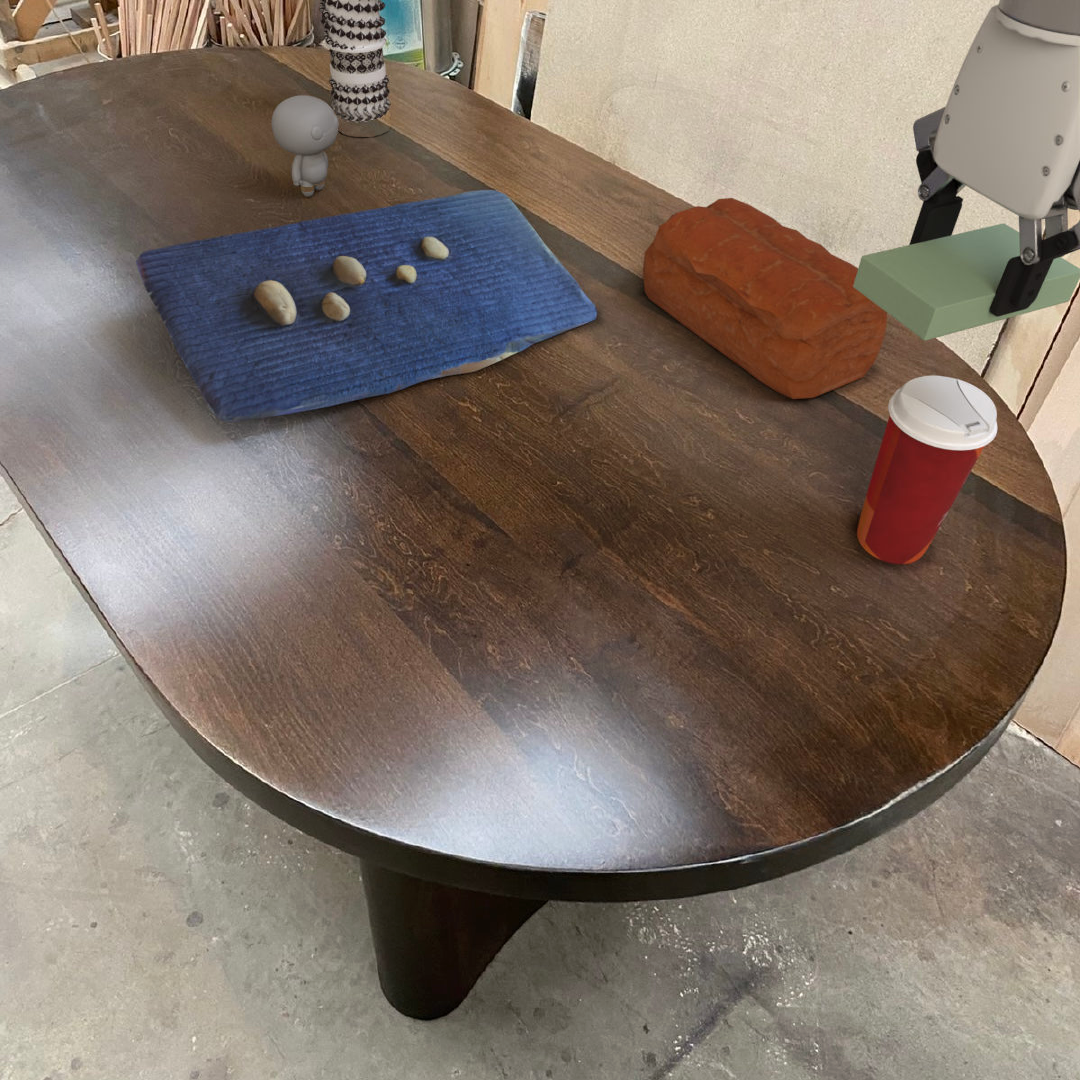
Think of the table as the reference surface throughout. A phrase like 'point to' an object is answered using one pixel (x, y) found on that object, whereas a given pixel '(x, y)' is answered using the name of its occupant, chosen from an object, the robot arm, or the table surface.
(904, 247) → the sage green foam block
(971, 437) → the coffee cup
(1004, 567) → the table surface
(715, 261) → the bread
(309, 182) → the figurine
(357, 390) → the mat
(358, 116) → the decorative candle
